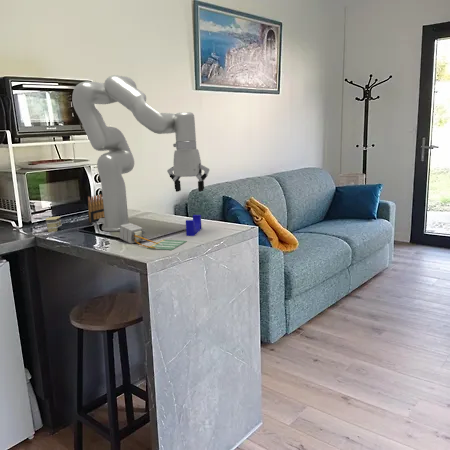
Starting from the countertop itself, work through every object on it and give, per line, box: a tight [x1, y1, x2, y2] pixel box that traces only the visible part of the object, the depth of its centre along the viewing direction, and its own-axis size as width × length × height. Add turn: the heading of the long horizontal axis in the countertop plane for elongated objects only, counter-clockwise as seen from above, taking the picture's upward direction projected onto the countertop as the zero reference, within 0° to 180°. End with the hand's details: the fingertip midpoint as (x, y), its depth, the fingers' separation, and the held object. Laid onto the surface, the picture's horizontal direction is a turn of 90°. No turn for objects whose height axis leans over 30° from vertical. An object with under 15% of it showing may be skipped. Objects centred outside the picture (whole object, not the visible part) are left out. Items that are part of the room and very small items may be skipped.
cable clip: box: [185, 214, 202, 237], centre depth 178 cm, size 12×4×6 cm, turn 169°
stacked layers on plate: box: [45, 215, 63, 233], centre depth 192 cm, size 10×9×6 cm
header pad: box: [146, 239, 188, 251], centre depth 161 cm, size 10×12×1 cm
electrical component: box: [119, 222, 163, 250], centre depth 163 cm, size 24×6×5 cm, turn 48°
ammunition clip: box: [87, 193, 105, 224], centre depth 209 cm, size 11×2×12 cm, turn 150°
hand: (189, 191), depth 175 cm, fingers open, 9 cm apart
